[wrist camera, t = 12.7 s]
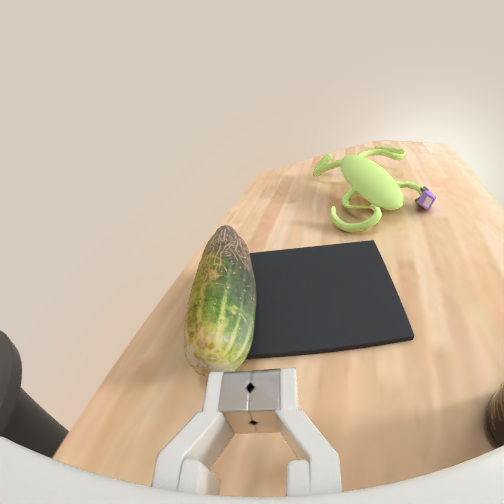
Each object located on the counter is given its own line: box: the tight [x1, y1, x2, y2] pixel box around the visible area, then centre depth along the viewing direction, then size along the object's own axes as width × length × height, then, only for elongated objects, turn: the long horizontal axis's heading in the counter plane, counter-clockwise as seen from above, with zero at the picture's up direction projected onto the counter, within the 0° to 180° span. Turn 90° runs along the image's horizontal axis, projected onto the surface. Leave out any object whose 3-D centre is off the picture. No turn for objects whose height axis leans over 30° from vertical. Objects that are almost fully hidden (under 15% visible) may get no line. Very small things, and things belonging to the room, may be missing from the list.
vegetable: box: [185, 226, 256, 377], centre depth 30 cm, size 6×6×20 cm
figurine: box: [313, 146, 436, 232], centre depth 49 cm, size 18×27×6 cm
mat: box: [246, 240, 414, 359], centre depth 33 cm, size 20×16×1 cm
